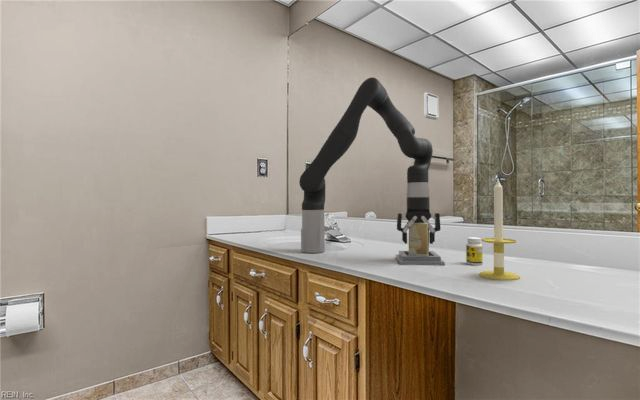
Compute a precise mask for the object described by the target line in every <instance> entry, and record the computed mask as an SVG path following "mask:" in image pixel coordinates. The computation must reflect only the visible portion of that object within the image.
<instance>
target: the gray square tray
mask: <svg viewBox="0 0 640 400" xmlns="http://www.w3.org/2000/svg"><path fill="white" fill-rule="evenodd" d="M395 258H396V260H397V263H398V264H399V265H402V266H403V265H405V266H406V265H408V266H446V265H445V264H446V262H445V261H444V260H443V259H442V256H441V255H439V254H438V253H437V252H435V251H433V250H429V256H409V250H398V254H395Z"/></svg>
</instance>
